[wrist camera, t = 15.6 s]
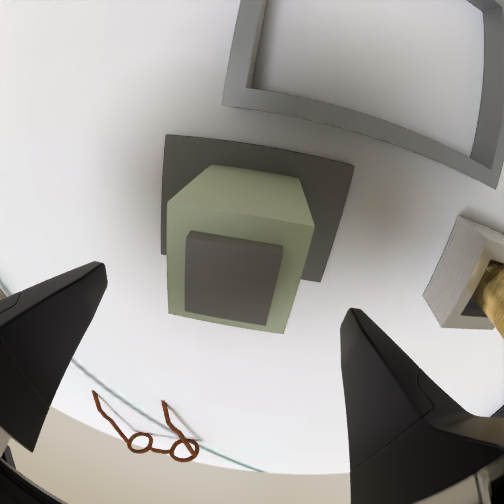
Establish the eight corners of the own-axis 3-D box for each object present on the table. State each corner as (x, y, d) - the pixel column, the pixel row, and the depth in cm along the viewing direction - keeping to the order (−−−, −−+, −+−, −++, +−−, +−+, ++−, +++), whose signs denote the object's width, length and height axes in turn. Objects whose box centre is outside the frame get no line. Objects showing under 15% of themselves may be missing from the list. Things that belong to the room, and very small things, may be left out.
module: (298, 178, 15) (317, 234, 8) (282, 254, 17) (283, 344, 11) (211, 164, 15) (160, 208, 8) (204, 241, 17) (164, 322, 11)
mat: (353, 165, 15) (354, 166, 14) (319, 279, 18) (320, 282, 18) (167, 134, 15) (165, 134, 14) (162, 252, 18) (161, 254, 18)
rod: (491, 242, 15) (552, 296, 8) (485, 281, 17) (535, 340, 9) (460, 250, 16) (521, 313, 9) (454, 290, 17) (503, 358, 10)
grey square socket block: (506, 235, 15) (532, 257, 12) (474, 302, 19) (492, 329, 15) (458, 215, 15) (487, 239, 12) (422, 295, 19) (441, 327, 15)
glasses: (135, 429, 37) (127, 452, 33) (92, 388, 31) (80, 413, 27) (202, 439, 35) (197, 465, 31) (166, 397, 29) (155, 430, 25)
